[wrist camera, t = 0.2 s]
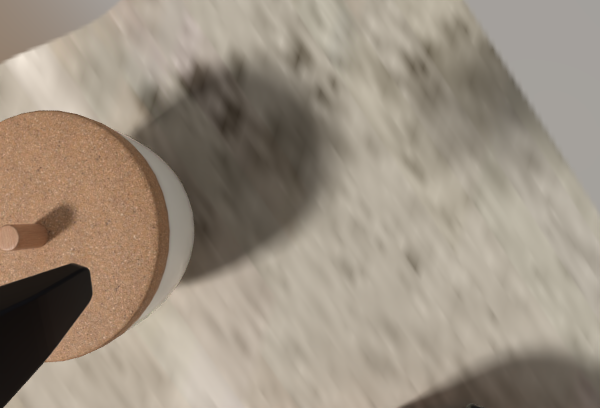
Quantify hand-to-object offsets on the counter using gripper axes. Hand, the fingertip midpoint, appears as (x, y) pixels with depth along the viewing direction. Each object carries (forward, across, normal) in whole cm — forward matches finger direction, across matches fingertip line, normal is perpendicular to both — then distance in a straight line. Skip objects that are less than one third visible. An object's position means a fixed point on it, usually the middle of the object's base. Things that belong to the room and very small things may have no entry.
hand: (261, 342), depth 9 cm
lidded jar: (+12, +12, +8) cm, 18 cm away
